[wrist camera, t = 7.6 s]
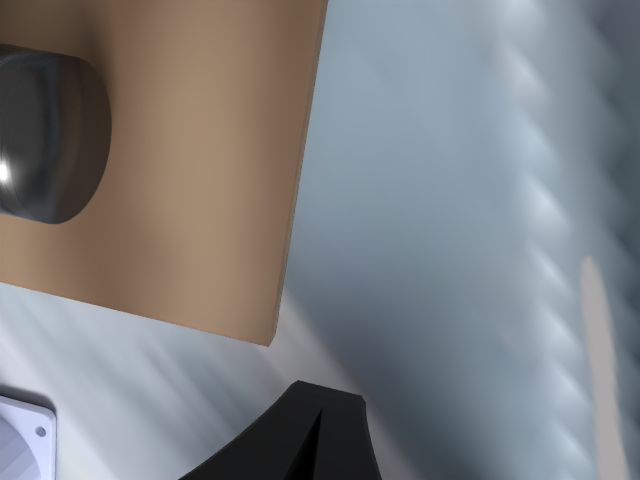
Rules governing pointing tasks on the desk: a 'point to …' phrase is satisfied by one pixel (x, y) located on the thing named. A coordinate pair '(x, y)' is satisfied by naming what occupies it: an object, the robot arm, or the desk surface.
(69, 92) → the shaft
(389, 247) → the desk surface
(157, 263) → the base board
